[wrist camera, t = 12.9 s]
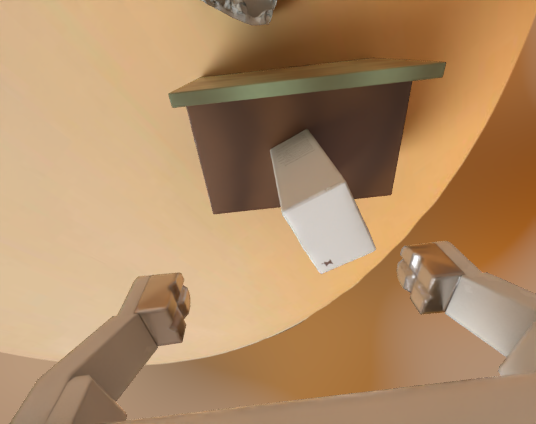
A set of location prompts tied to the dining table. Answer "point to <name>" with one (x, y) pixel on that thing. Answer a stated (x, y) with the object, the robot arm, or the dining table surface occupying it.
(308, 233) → the cosmetic box
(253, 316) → the dining table surface
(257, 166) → the shelf
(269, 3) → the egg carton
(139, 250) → the dining table surface
